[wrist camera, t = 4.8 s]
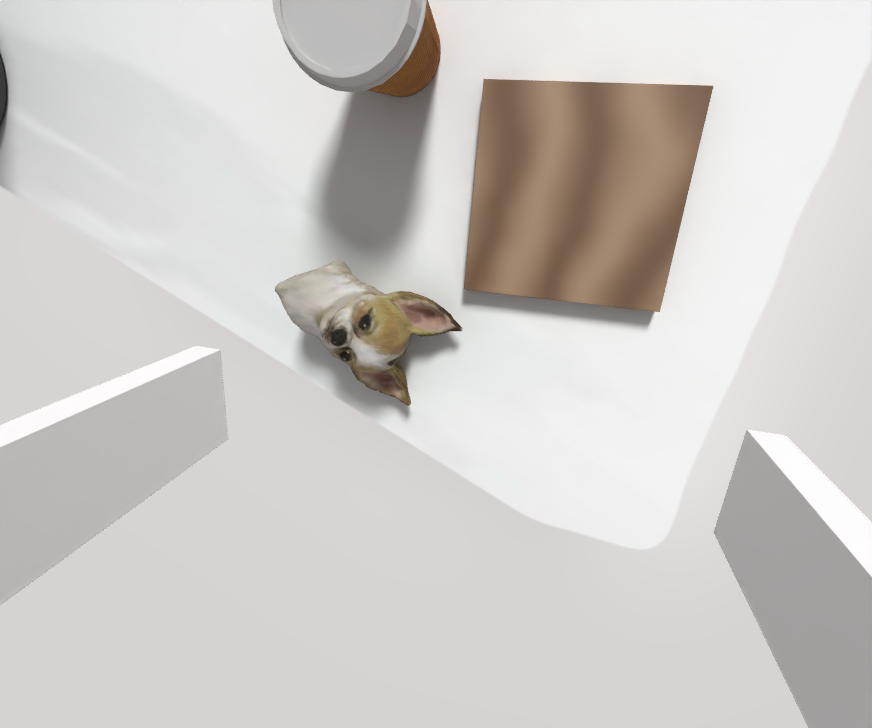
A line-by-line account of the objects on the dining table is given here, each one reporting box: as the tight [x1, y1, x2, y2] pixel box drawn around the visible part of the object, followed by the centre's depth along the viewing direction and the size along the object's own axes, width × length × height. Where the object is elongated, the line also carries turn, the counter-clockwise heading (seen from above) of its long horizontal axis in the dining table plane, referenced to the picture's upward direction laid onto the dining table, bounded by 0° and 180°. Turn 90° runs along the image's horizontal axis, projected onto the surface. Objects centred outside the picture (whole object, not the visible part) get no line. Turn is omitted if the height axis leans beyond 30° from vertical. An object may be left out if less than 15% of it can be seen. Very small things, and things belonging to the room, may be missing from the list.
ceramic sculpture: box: [275, 261, 462, 405], centre depth 42 cm, size 11×9×15 cm
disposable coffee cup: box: [273, 0, 440, 97], centre depth 33 cm, size 10×10×12 cm
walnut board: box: [464, 79, 713, 312], centre depth 38 cm, size 16×16×2 cm
